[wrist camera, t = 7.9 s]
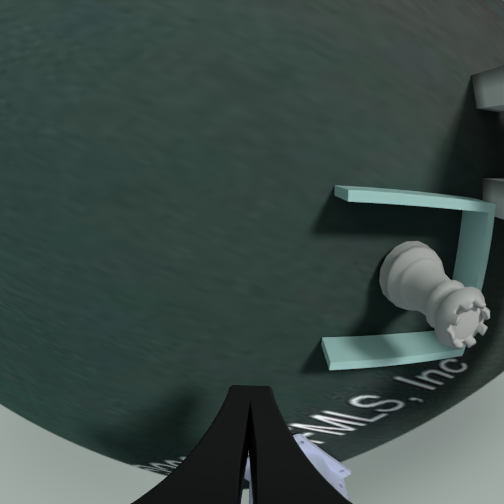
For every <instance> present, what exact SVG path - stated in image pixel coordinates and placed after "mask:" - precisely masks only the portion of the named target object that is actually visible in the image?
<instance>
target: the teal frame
mask: <svg viewBox="0 0 504 504" xmlns="http://www.w3.org/2000/svg"><path fill="white" fill-rule="evenodd" d="M334 195H335V196H337V197H339V198H341V199H343V200H346V201H348V202H366V203H383V204H398V205H412V206H424V207H436V208H447V209H458V210H462V219H461V228H460V235H459V242H458V249H457V255H456V261H455V267H454V272H453V277H452V280H456V281H458V282H461V283H462V284H463V285H464V287H474V288H476V289H479V290H480V291H481V290H482V286H483V281H484V277H485V272H486V267H487V262H488V256H489V251H490V245H491V238H492V232H493V224H494V216H495V207H496V204H494V203H490V202H486V201H482V200H478V199H474V198H470V197H463V196H454V195H446V194H437V193H428V192H418V191H407V190H396V189H383V188H370V187H355V186H338V185H335V190H334ZM321 346H322V349H323V352H324V355H325V358H326V361H327V365H328V368H329V370H342V369H357V368H370V367H381V366H391V365H401V364H409V363H417V362H425V361H432V360H439V359H445V358H452V357H458V356H463V353H464V350H465V347H466V345H465V344H464V345H463V347H462V350H460V349H457V348H455V347H454V346H450V347H449V346H446V345H442V344H441V343H440V342H439V341H438V340H437V338H436V335H435V330H434V331H424V332H413V333H401V334H387V335H371V336H351V337H322V342H321Z"/></svg>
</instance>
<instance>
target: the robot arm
mask: <svg viewBox="0 0 504 504" xmlns="http://www.w3.org/2000/svg"><path fill="white" fill-rule="evenodd" d="M250 395H251V396H250ZM249 425H250V426H249ZM248 451H249V457H248ZM350 474H351V471H350V469H348V468H347V467H345V466H344V465H342V464H341V463H340V462H338V461H337V460H335V459H334V458H333V457H331V456H330V455H328V454H327V453H326V452H324V451H323V450H322V449H320V448H319V447H318V446H316V445H315V444H313V443H312V442H311V441H309V440H308V439H307V438H306V437H304V436H303V435H301V434H295V435H292V434H291V432H290V430H289V428H288V427H287V425H286V423H285V421H284V419H283V417H282V415H281V413H280V411H279V408H278V406H277V404H276V401H275V398H274V395H273V391H272V388H270V387H269V386H242V385H232V386H231V387H229V391H228V394H227V396H226V399H225V401H224V403H223V405H222V407H221V409H220V411H219V412H218V414H217V416H216V417H215V419H214V421H213V422H212V424H211V426H210V427H209V429H208V430H207V432H206V433H205V434H204V436H203V437H202V439H201V440H200V441H199V443H198V444H197V445H196V446H195V448H194V449H193V450H192V451H191V453H190V454H189V455H188V456H187V457H186V458H185V459H184V460H183V461H182V463H181V464H180V465H179V466H178V467H177V468H176V469H174V470H173V471H172V472H171V473H170V474H169V475H168V476H167V477H166V478H165V479H164V480H163V481H161V482H160V483H159V484H158V485H156V486H155V487H154V488H152V489H151V490H150V491H149V492H147V493H146V494H144V495H143V496H142V497H140V498H139V499H137V500H136V501H134V502H133V503H131V504H241V497H242V491H243V484H244V478H245V479H246V480H248V481H250V488H249V504H352V503H351V502H350V501H349V500H348V496H347V491H346V487H345V482H344V478H345V477H347V476H349V475H350Z"/></svg>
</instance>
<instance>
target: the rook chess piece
mask: <svg viewBox="0 0 504 504" xmlns="http://www.w3.org/2000/svg"><path fill="white" fill-rule="evenodd" d="M379 283H380V286H381V289H382V293H383V294H384V295H385V296H386V297H387V299H388V300H389V301H391V302H392V303H393V304H394V305H395V306H397V307H400V308H403V309H406V310H414V311H415V310H418V311H420V312H421V313H423V314H424V315H426V320H427V322H428V323H429V325H430V326H431V327H433V328H434V329H435V335H436V338H437V340H438V341H439V342H440V343H441V344H442V345H446V346H449V347H450V346H454V347H455V348H457V349H460V350H462V347H463V345H464V344H465V345H466V346H467V347H468V348H470V347H471V346H473V345H474V344H476V340H475V339H474V338H473V337H474V336H475V335H476V334H477V333H478V332H479V333H480V334H481V335H482V336H483V335H484V333H485V332H486V330H487V328H488V327H487V326H486V325H485V324H483V322H484V319H485V320H488V319H490V310H489V309H487V308H486V307H485V306H486V304H485V299H484V296H483V295H482V293H481V291H480V290H479V289H476V288H474V287H464V285H463V284H462V283H461V282H458V281H456V280H450V279H449V278H448V276H447V275H446V274H445V273H444V268H443V265H442V261H441V260H440V258H439V257H438V255H437V254H436V253H435V251H434V250H432V249H430V248H429V247H428V246H427V245H425V244H423V243H421V242H419V241H407V242H405V243H402V244H400V245H398V246H396V247H395V248H394V249H393V250H392V251H391V252H390V253H389V254H388V255H387V256H386V258H385V260H384V262H383V265H382V267H381V269H380V279H379Z"/></svg>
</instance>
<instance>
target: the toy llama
mask: <svg viewBox="0 0 504 504" xmlns="http://www.w3.org/2000/svg"><path fill="white" fill-rule="evenodd" d="M471 78H472V83H473V89H474V95H475V101H476V108H477V109H482V110H488V111H494V112H504V66H501V67H498V68H494V69H491V70H488V71H484V72H481V73H478V74H475V75H472V76H471ZM482 188H483V201H486V202H490V203H494V204H496V207H495V217H498V218H501V219H504V178H482Z"/></svg>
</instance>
